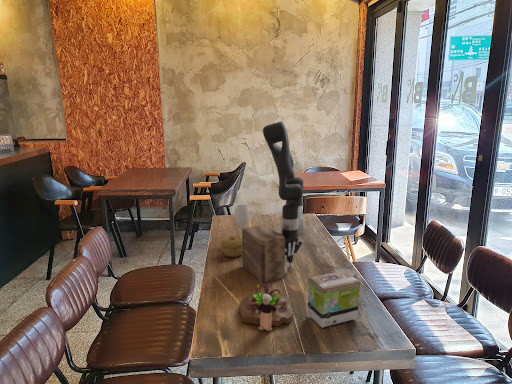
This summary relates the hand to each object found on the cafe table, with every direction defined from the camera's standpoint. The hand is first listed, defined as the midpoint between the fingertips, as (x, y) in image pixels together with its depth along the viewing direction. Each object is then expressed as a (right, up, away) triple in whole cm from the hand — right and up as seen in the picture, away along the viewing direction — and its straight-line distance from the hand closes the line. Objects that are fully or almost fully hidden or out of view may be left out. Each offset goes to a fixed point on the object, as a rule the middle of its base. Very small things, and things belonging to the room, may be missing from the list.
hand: (289, 262), depth 175 cm
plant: (-12, -11, -37) cm, 41 cm away
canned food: (+18, -9, -30) cm, 36 cm away
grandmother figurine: (-12, -13, -49) cm, 52 cm away
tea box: (+12, -12, -42) cm, 45 cm away
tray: (-9, -3, -4) cm, 10 cm away
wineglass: (-23, +5, +28) cm, 37 cm away
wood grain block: (-13, -3, -6) cm, 14 cm away
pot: (-27, +1, +13) cm, 30 cm away
